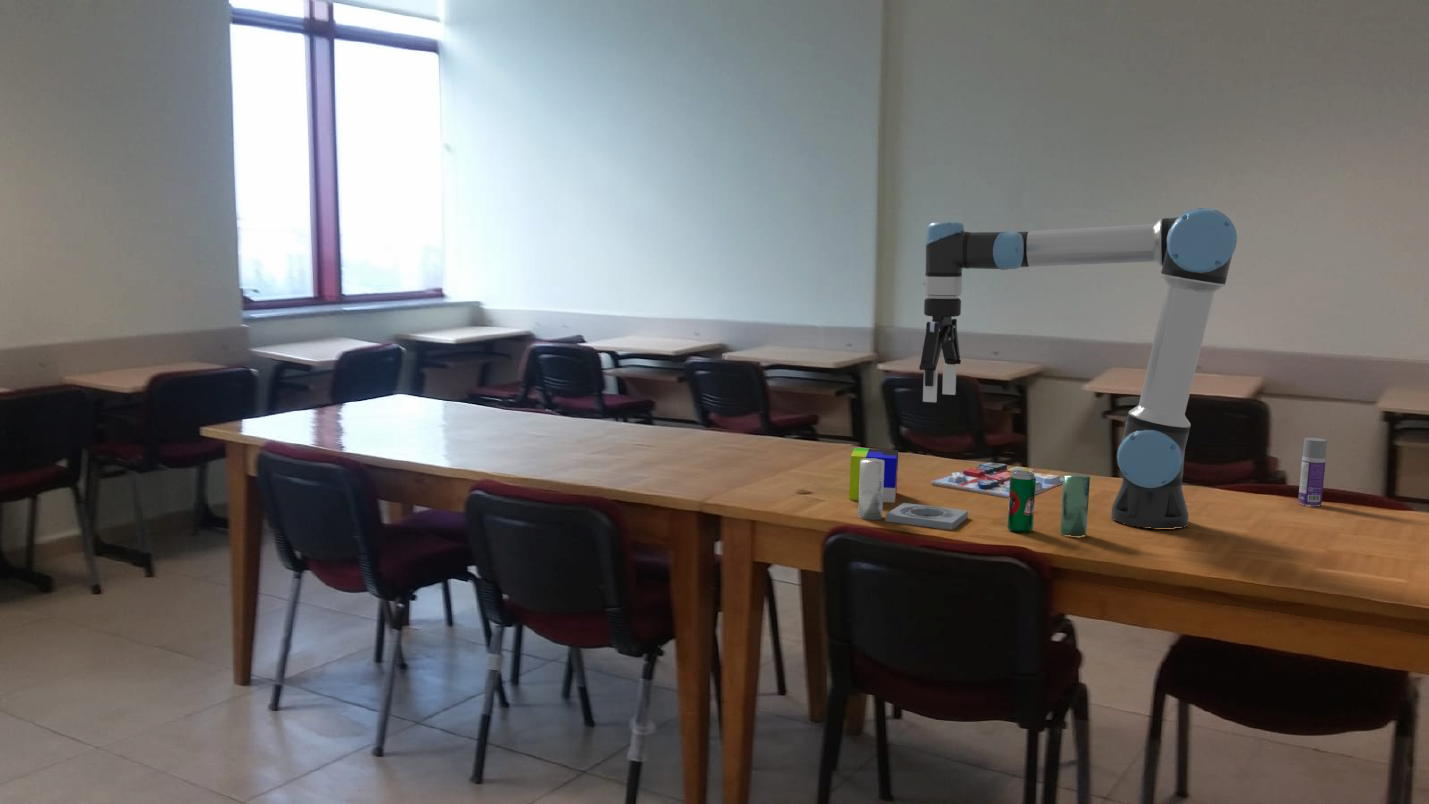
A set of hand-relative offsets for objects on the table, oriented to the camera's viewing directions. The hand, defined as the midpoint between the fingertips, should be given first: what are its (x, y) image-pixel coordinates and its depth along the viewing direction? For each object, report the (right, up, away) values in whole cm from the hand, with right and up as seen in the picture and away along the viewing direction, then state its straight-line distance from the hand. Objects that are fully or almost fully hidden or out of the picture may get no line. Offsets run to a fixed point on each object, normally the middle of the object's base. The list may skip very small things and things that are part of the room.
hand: (939, 398), depth 241 cm
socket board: (-3, -25, -3) cm, 26 cm away
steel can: (-15, -25, -2) cm, 29 cm away
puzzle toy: (-12, -22, +18) cm, 31 cm away
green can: (+24, -27, -14) cm, 39 cm away
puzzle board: (+22, -21, +35) cm, 47 cm away
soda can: (+14, -27, -11) cm, 32 cm away
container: (+87, -24, +17) cm, 92 cm away
